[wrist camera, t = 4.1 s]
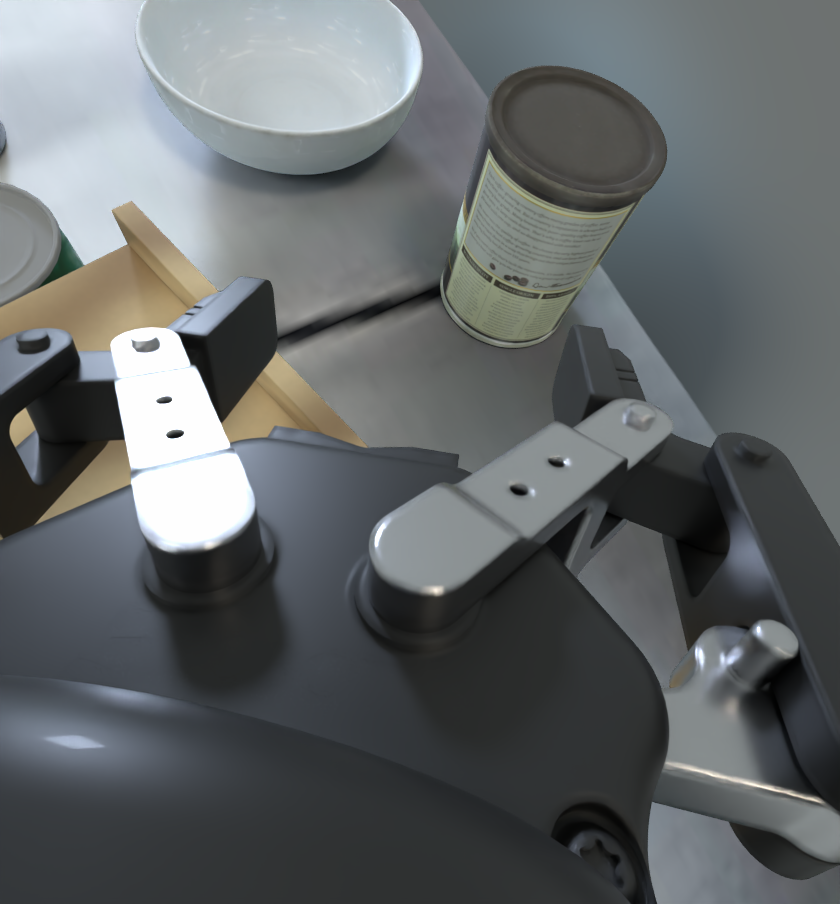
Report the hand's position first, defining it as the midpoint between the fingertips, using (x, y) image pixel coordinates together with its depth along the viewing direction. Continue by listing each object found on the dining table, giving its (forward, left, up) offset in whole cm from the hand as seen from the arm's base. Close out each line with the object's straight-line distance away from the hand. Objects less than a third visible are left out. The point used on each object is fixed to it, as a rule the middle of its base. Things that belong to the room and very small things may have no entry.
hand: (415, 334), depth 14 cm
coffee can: (+10, +19, -20) cm, 29 cm away
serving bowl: (-8, +35, -20) cm, 41 cm away
